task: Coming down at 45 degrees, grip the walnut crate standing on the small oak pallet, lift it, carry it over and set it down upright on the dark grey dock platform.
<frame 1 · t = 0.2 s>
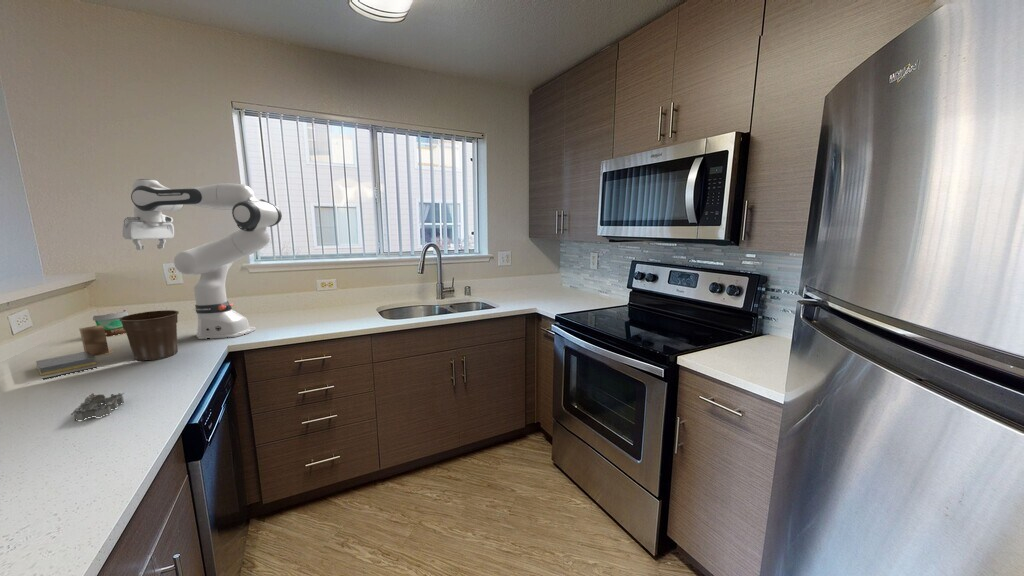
hand: (150, 249, 167), 39 cm above the countertop, tool pointing down, fingers open, 8 cm apart
crate: (97, 353, 143), point 1 cm above the countertop, touching pallet
food container: (118, 334, 175), on the countertop
dock: (68, 370, 131), on the countertop
plant pot: (157, 356, 144), on the countertop
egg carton: (101, 412, 101), on the countertop
pallet: (97, 357, 144), on the countertop
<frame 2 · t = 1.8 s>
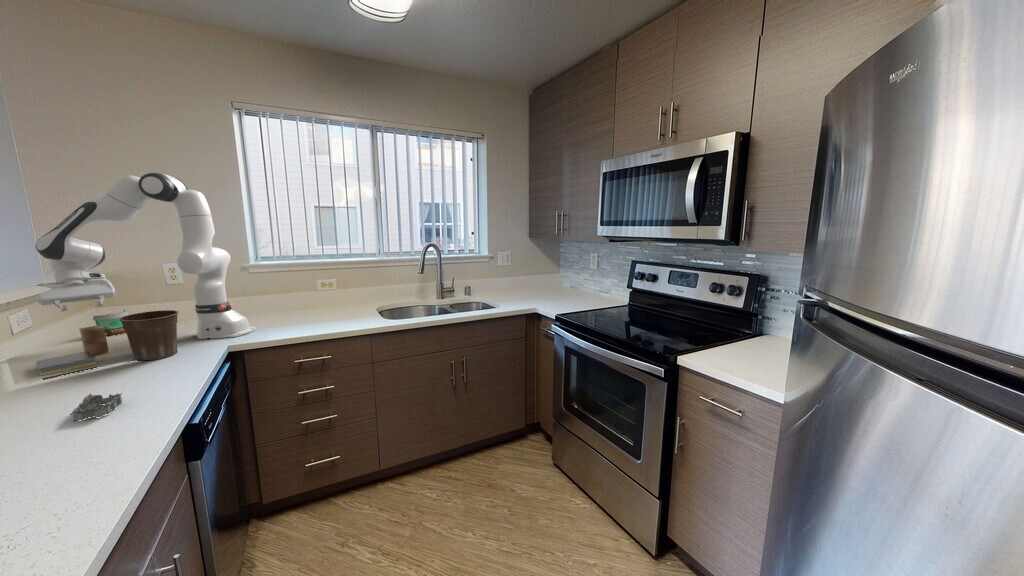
hand: (82, 308, 148), 18 cm above the countertop, tool tilted 45°, fingers open, 8 cm apart
nothing on the countertop moved.
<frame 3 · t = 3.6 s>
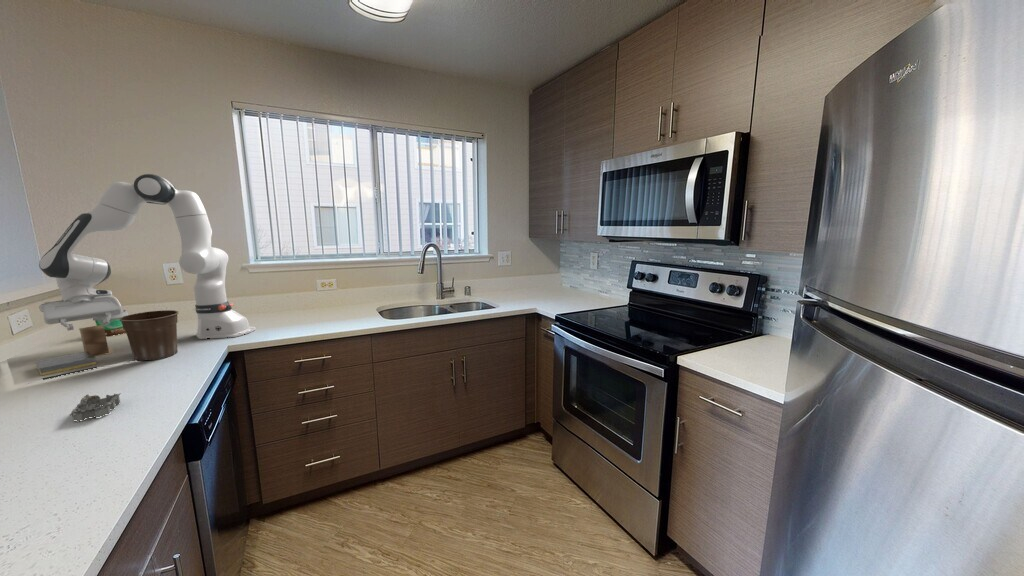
hand: (89, 326, 144), 11 cm above the countertop, tool tilted 45°, fingers open, 8 cm apart
nothing on the countertop moved.
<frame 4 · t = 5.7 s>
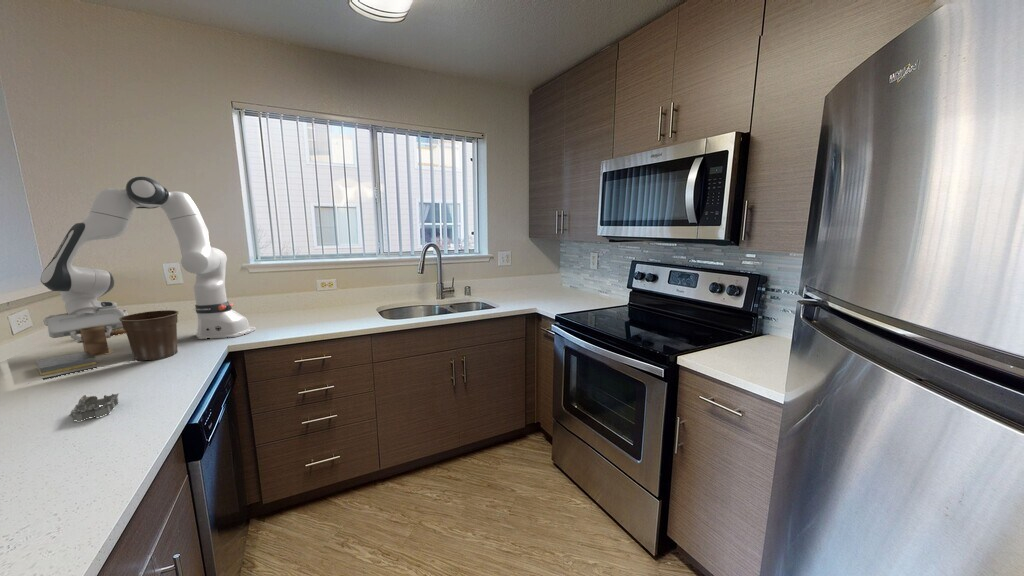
hand: (94, 339, 142), 7 cm above the countertop, tool tilted 45°, fingers closed on crate, 5 cm apart
crate: (97, 353, 143), point 1 cm above the countertop, touching gripper, pallet
everything else where it was.
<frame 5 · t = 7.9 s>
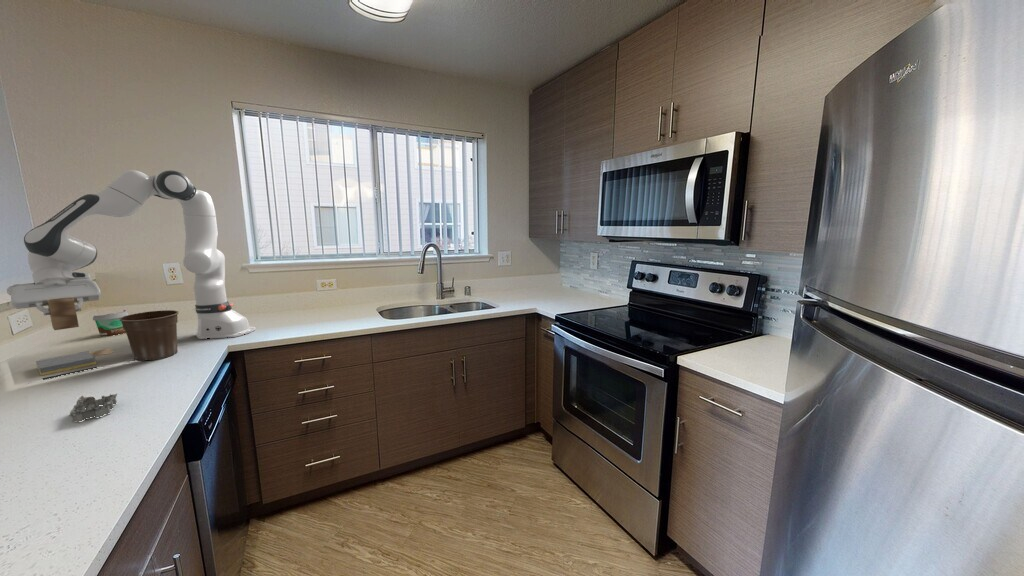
hand: (63, 312, 130), 20 cm above the countertop, tool tilted 45°, fingers closed on crate, 5 cm apart
crate: (65, 327, 132), point 14 cm above the countertop, touching gripper
everything else where it was.
when the fingers open (11 cm above the countertop, at t = 10.3 s): crate drops 1 cm, resting on dock.
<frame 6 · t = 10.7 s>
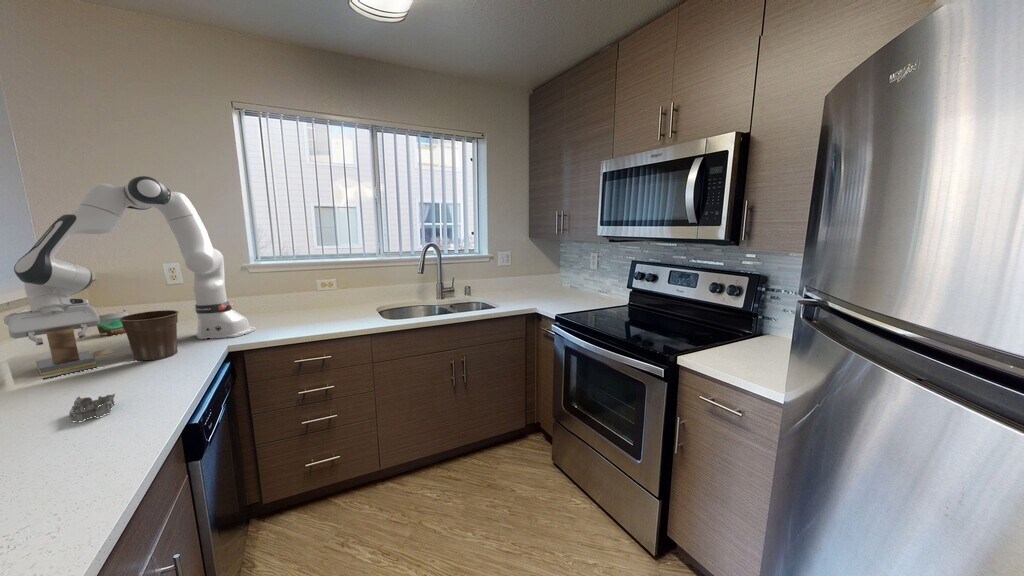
hand: (61, 340, 129), 11 cm above the countertop, tool tilted 45°, fingers open, 8 cm apart
crate: (65, 359, 130), point 4 cm above the countertop, touching dock
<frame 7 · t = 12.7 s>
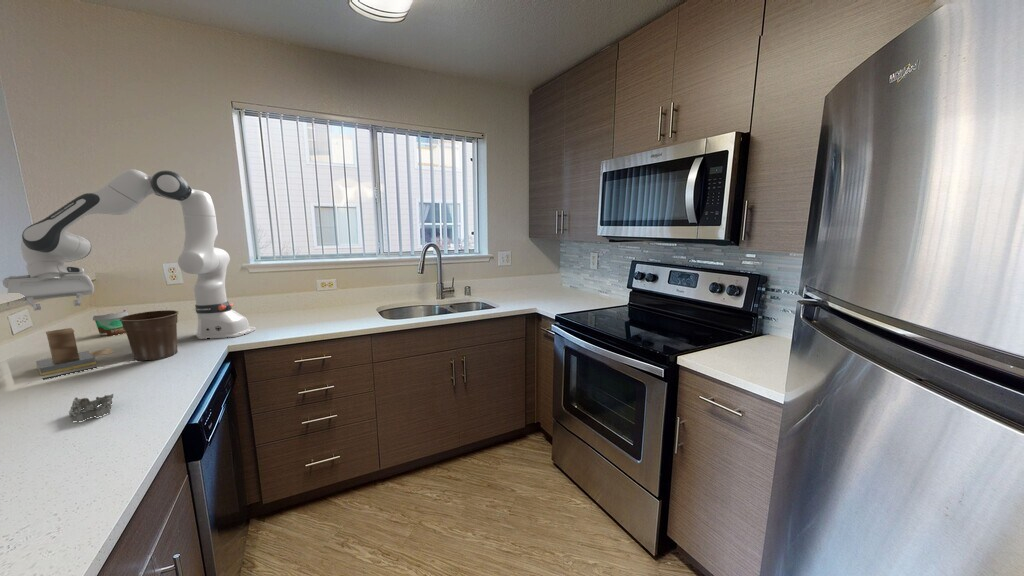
hand: (58, 307, 137), 20 cm above the countertop, tool tilted 35°, fingers open, 8 cm apart
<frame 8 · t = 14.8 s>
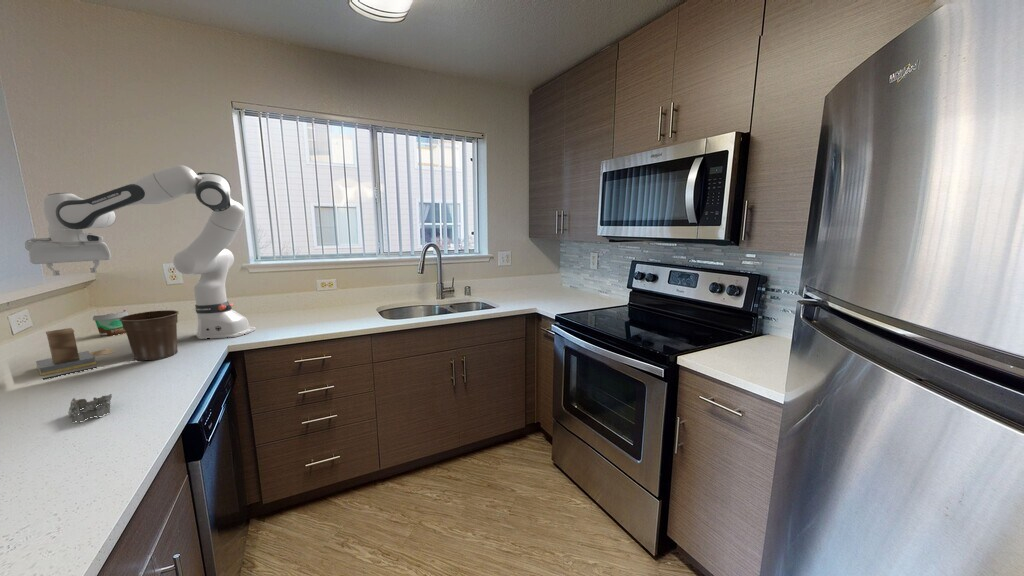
hand: (75, 274, 144), 31 cm above the countertop, tool pointing down, fingers open, 8 cm apart
at the end: crate inside the target area on the dock (0.1 cm from its centre), point 4.0 cm above the dock's base; crate tilted 0°; the gripper is holding nothing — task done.
